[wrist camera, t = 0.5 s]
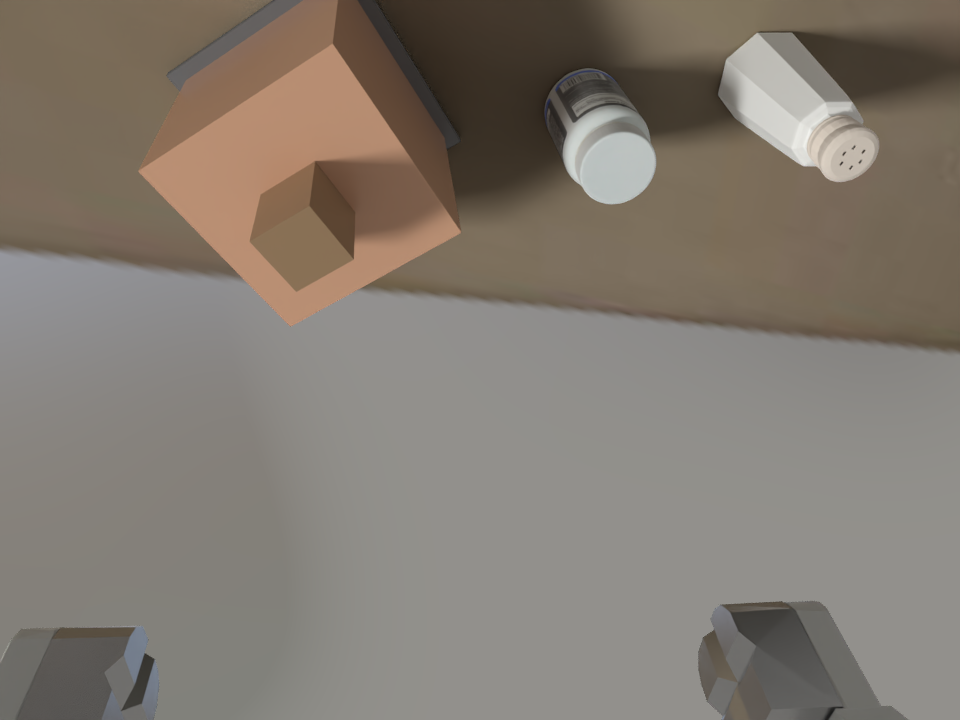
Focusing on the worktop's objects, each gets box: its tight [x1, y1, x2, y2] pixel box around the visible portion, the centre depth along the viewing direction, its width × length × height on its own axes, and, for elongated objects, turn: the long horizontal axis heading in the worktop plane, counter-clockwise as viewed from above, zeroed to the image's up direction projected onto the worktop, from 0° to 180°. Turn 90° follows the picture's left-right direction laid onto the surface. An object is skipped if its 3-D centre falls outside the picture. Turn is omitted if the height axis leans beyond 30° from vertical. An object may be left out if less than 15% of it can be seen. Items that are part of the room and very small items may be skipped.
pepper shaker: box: [718, 33, 879, 182], centre depth 40 cm, size 5×5×11 cm
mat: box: [167, 0, 461, 149], centre depth 42 cm, size 12×12×1 cm
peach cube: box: [138, 0, 461, 326], centre depth 36 cm, size 10×10×15 cm
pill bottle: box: [545, 68, 656, 204], centre depth 41 cm, size 5×5×8 cm
